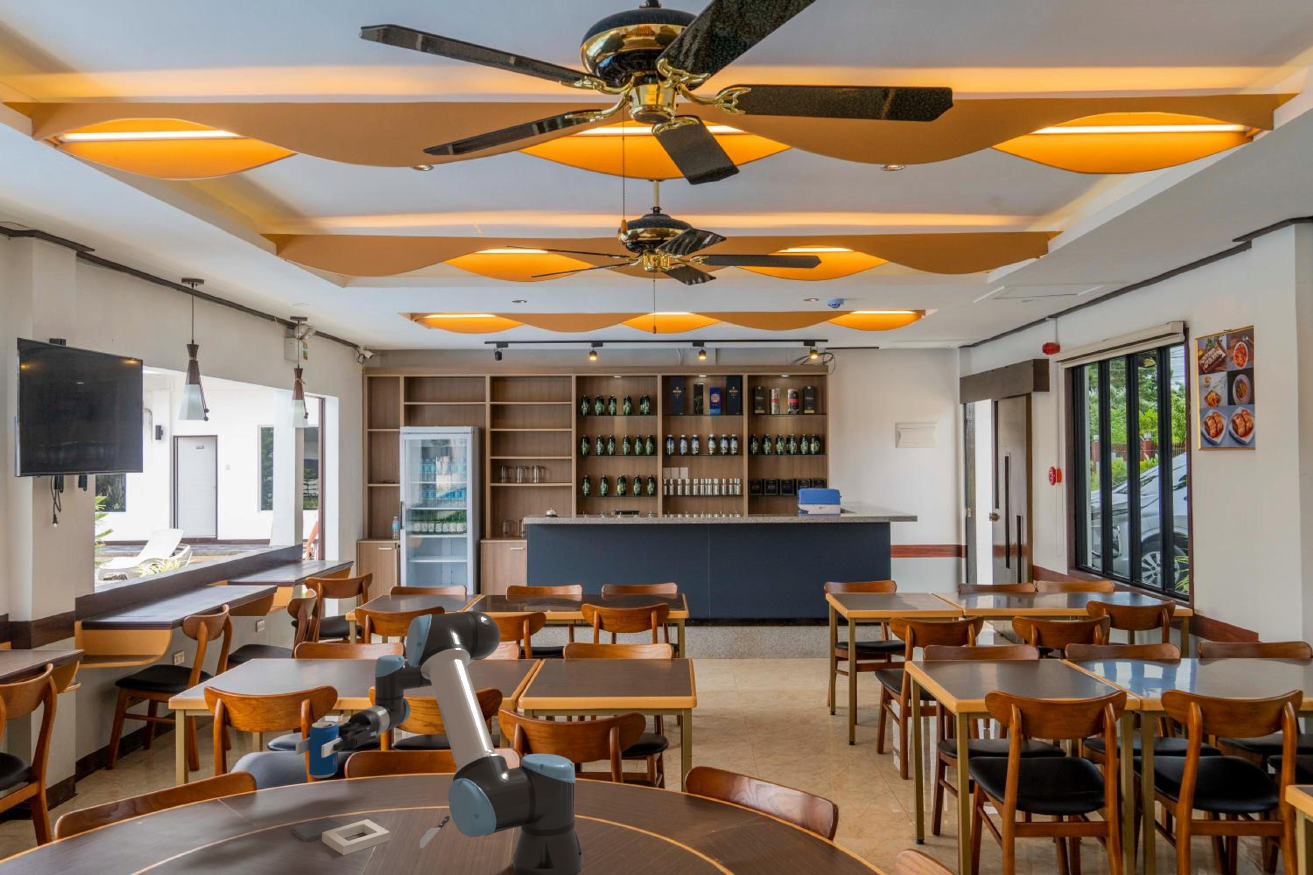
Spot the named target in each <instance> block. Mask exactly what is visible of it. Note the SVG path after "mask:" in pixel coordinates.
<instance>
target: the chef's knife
mask: <svg viewBox="0 0 1313 875" xmlns="http://www.w3.org/2000/svg"><path fill="white" fill-rule="evenodd" d="M449 818H451V816H445V817H444V819H443V820H442V822H441V823H439V824H438V825H437V826H436V827H430V828H428V829H429V830H428V829H427V830H426V831H427V832H426V831H425V833H426V834H425V833H424V834H423V835H424V836H423V835H422V837H421V839H420V840H419V843H420V844H419V843H418V844H419V848H420V849H424V848H425V847H426V846H427V844H428V843H429V842H430V841H431V840H432V839H433V838H434V837H435V836H436V835H437V834H438V833H439V832H440V831H441V829H442V828H443V827H444V826H445V825H446V824H447V822H448V821H450V819H449ZM445 823H446V824H445ZM439 830H440V831H439ZM436 833H437V834H436Z"/></svg>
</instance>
